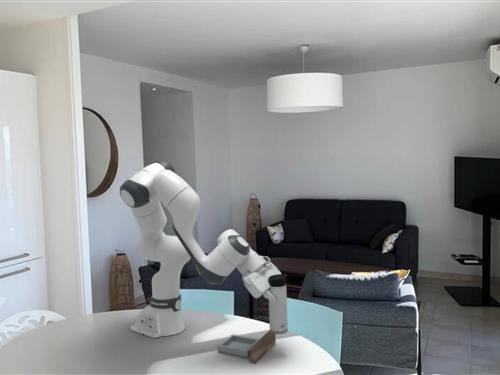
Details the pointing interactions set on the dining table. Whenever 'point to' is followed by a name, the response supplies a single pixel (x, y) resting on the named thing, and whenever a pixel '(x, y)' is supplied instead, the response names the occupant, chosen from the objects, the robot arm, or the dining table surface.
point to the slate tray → (237, 346)
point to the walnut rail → (262, 346)
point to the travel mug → (278, 304)
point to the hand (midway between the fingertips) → (279, 297)
